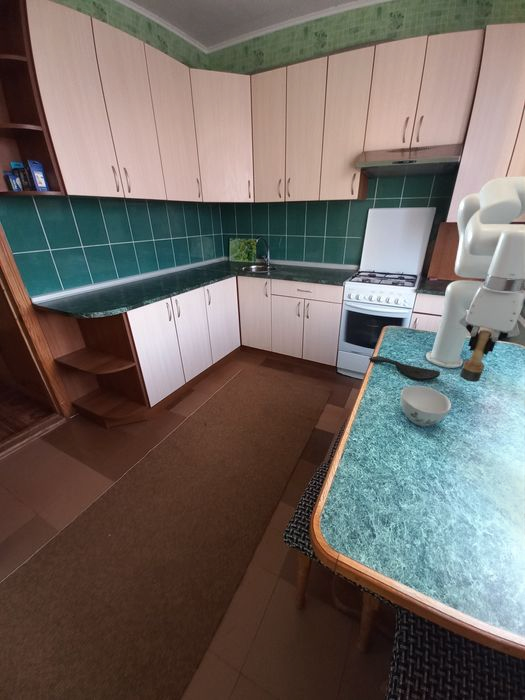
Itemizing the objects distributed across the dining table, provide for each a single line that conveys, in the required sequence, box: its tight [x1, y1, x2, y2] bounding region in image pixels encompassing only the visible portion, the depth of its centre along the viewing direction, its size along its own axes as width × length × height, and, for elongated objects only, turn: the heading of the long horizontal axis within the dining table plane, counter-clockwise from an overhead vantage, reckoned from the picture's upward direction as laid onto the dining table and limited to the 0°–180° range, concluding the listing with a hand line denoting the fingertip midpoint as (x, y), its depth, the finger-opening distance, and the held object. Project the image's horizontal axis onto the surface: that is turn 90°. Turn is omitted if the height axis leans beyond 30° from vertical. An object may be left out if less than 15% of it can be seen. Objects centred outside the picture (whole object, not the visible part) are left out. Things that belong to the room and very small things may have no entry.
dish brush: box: [459, 329, 493, 383], centre depth 79 cm, size 5×5×14 cm
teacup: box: [400, 385, 452, 427], centre depth 84 cm, size 15×12×8 cm
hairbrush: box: [368, 356, 441, 381], centre depth 109 cm, size 8×4×25 cm
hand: (479, 350), depth 78 cm, fingers closed on dish brush, 2 cm apart
